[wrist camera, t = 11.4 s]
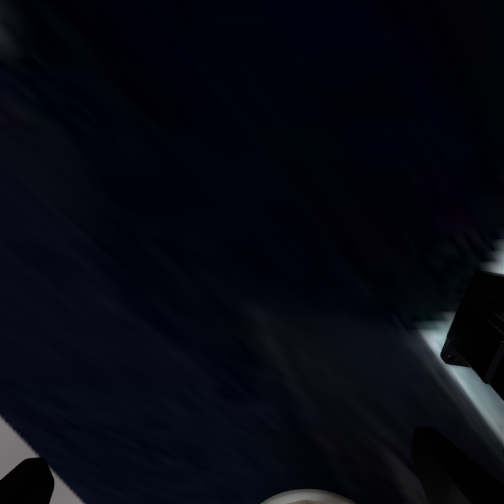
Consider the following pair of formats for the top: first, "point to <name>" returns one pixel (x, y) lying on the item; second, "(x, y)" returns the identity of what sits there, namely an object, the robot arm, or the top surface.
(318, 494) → the rimmed bowl
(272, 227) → the top surface
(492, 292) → the robot arm
